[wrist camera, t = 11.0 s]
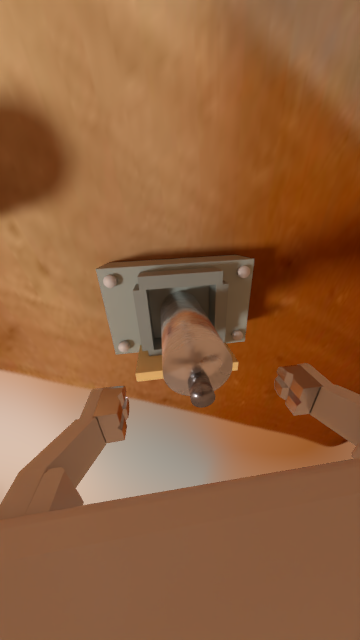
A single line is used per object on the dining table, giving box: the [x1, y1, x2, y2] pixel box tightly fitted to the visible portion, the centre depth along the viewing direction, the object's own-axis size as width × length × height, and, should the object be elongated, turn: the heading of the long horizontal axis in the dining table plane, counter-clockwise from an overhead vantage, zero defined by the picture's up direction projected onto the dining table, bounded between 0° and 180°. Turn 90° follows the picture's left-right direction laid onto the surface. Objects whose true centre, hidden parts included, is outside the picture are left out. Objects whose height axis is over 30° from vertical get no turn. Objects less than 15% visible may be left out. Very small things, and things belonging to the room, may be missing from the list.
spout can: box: [160, 291, 233, 407], centre depth 15 cm, size 4×4×11 cm
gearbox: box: [96, 255, 254, 382], centre depth 20 cm, size 10×16×10 cm, turn 93°
